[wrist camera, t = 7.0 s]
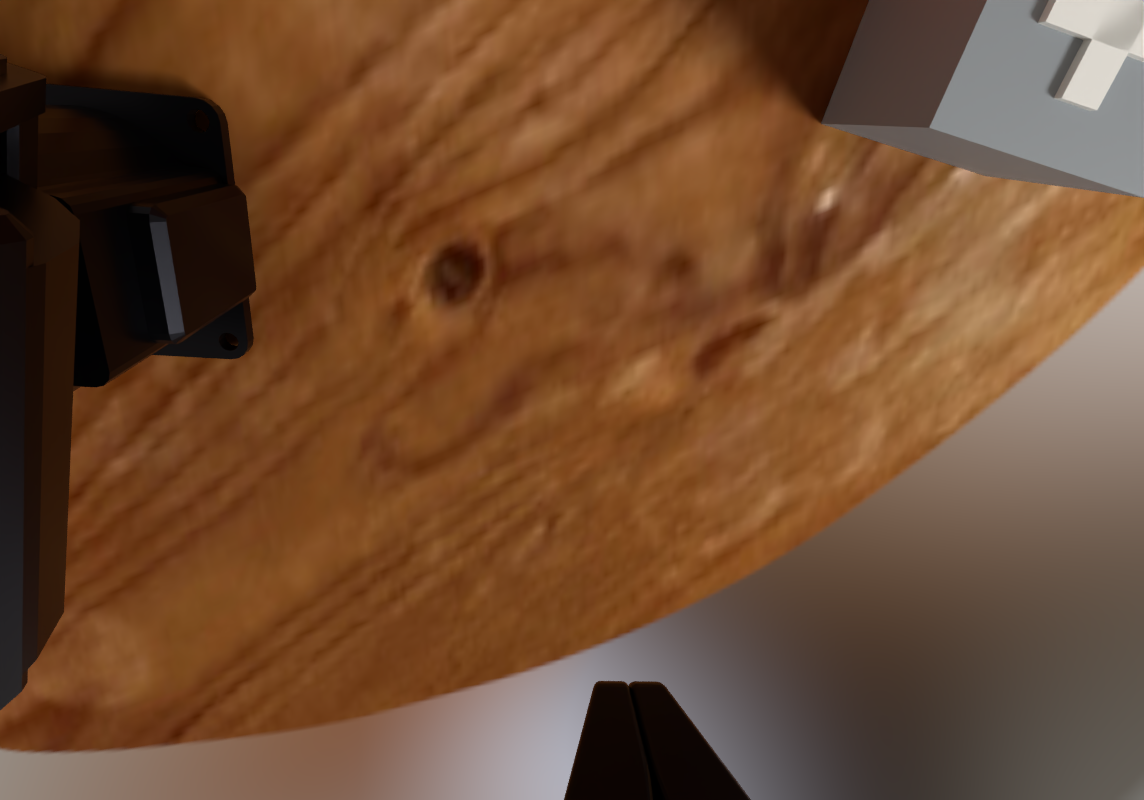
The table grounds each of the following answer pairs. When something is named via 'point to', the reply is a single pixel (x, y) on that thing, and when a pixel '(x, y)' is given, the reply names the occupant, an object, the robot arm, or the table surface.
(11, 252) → the robot arm
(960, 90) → the slate block
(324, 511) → the table surface
